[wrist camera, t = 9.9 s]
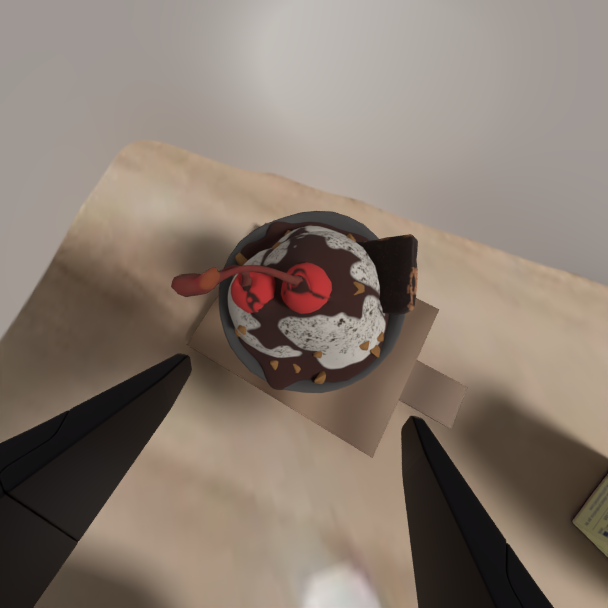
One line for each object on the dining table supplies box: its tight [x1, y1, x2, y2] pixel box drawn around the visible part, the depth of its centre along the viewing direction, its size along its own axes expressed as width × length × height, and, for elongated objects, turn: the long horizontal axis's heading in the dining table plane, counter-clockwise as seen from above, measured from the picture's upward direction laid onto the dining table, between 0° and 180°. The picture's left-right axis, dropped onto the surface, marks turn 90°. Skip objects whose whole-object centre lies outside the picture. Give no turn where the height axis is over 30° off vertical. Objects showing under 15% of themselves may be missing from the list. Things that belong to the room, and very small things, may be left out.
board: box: [187, 223, 468, 458], centre depth 18 cm, size 20×12×2 cm, turn 61°
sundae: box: [171, 211, 418, 393], centre depth 11 cm, size 7×7×15 cm
